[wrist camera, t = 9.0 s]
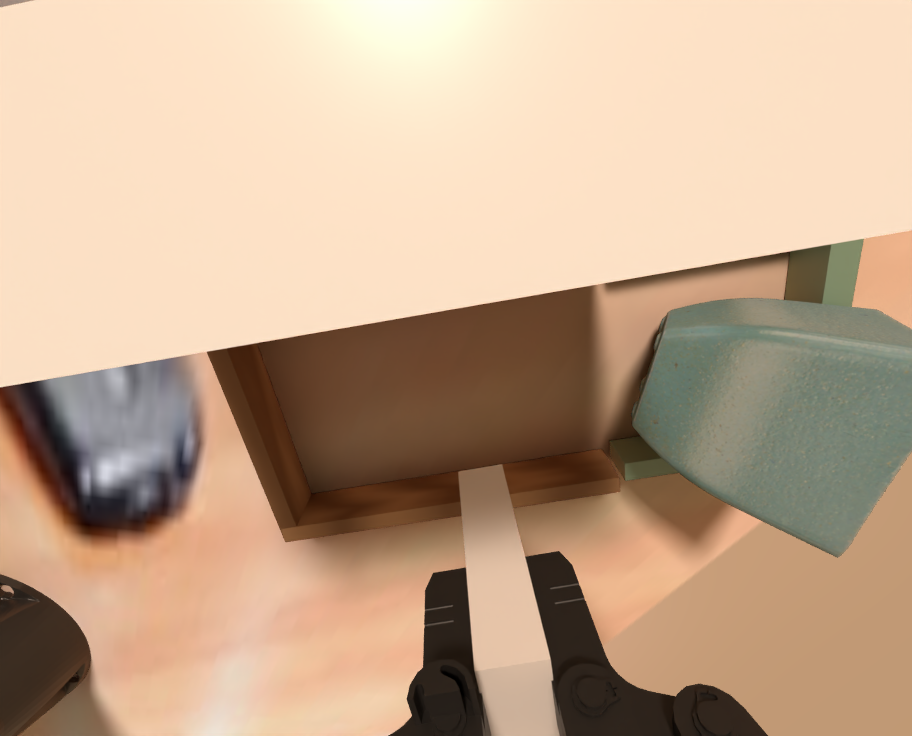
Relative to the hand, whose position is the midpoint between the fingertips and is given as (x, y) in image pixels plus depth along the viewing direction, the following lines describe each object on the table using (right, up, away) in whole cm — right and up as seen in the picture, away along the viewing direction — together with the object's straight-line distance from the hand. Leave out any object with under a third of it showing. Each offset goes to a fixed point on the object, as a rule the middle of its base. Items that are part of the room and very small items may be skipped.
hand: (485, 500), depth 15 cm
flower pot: (+9, +5, +8) cm, 12 cm away
